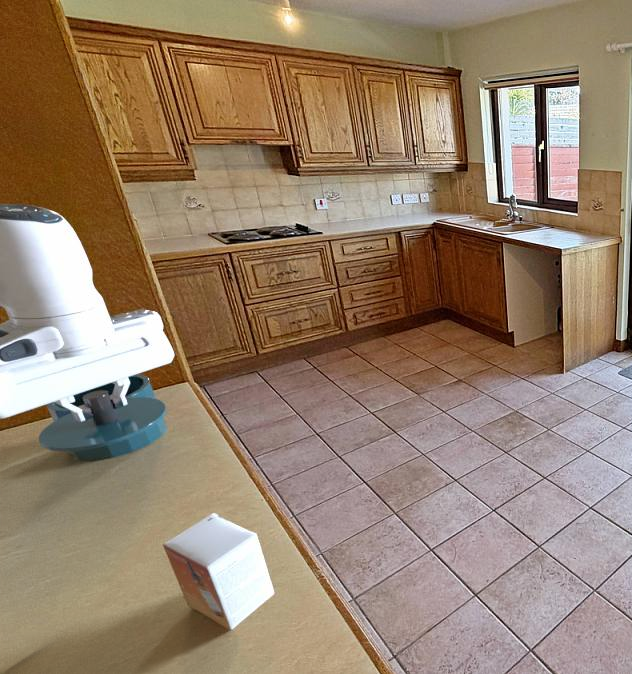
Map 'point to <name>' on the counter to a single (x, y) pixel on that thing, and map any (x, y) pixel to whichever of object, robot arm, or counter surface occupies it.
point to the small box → (220, 570)
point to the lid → (102, 423)
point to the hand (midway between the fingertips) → (102, 412)
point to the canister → (137, 388)
